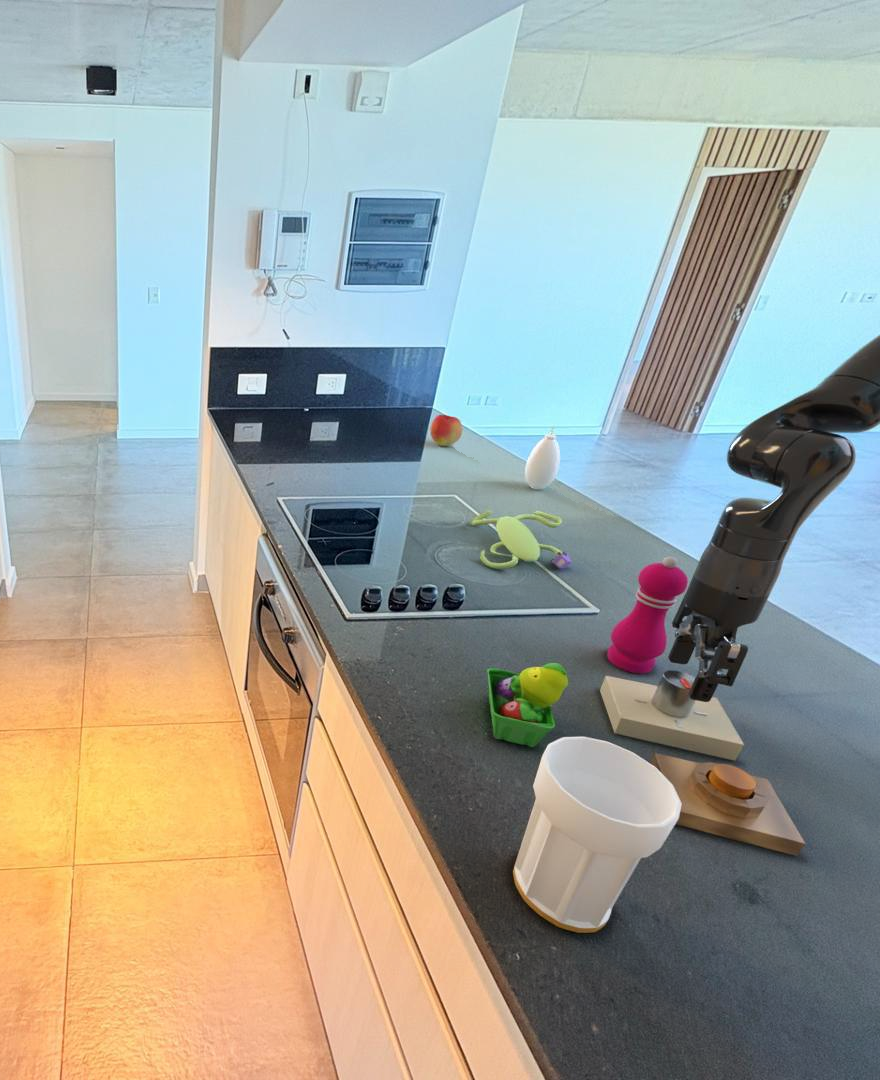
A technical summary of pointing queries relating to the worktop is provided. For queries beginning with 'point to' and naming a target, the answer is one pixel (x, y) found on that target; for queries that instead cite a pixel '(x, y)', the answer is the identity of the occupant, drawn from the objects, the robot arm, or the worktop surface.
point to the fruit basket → (525, 702)
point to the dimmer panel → (669, 720)
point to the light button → (732, 781)
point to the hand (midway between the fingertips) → (687, 680)
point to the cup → (590, 830)
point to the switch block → (729, 807)
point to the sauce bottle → (543, 462)
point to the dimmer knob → (674, 694)
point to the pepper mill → (647, 618)
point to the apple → (446, 430)
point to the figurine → (520, 539)
